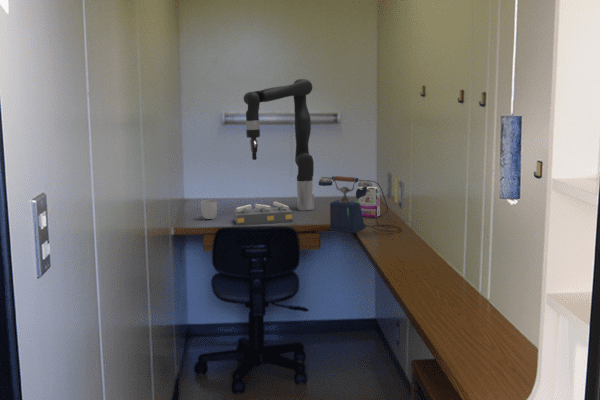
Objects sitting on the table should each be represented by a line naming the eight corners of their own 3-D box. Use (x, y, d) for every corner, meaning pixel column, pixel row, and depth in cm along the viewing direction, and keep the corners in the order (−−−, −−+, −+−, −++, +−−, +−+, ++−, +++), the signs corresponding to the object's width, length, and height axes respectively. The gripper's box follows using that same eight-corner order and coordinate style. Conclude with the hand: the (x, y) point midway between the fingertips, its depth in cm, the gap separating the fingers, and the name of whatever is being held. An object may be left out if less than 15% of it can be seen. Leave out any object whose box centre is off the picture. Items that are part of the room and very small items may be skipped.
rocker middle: (269, 208, 348) (269, 205, 348) (270, 209, 345) (270, 207, 344) (254, 206, 347) (255, 203, 346) (255, 207, 343) (256, 205, 342)
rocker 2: (286, 208, 351) (287, 205, 350) (287, 210, 347) (288, 207, 347) (273, 203, 349) (274, 201, 348) (274, 205, 345) (275, 202, 345)
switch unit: (287, 216, 357) (287, 202, 355) (292, 221, 343) (292, 207, 342) (234, 220, 351) (233, 205, 349) (237, 225, 337) (236, 210, 335)
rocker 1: (251, 206, 346) (250, 204, 346) (252, 208, 342) (251, 205, 342) (236, 210, 345) (236, 207, 344) (237, 212, 341) (236, 209, 341)
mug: (219, 219, 353) (218, 201, 351) (203, 221, 350) (202, 203, 348) (214, 215, 365) (213, 198, 363) (199, 216, 362) (198, 199, 360)
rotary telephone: (406, 228, 322) (407, 175, 317) (388, 237, 304) (388, 181, 299) (336, 220, 343) (335, 170, 338) (315, 229, 325) (314, 176, 320)
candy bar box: (380, 216, 351) (380, 186, 348) (377, 218, 346) (377, 188, 343) (361, 214, 356) (361, 185, 353) (358, 216, 352) (357, 187, 349)
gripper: (261, 129, 348) (263, 160, 351) (257, 127, 361) (259, 157, 364) (247, 129, 346) (249, 161, 350) (244, 128, 359) (246, 158, 362)
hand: (254, 159), depth 357 cm, fingers closed
